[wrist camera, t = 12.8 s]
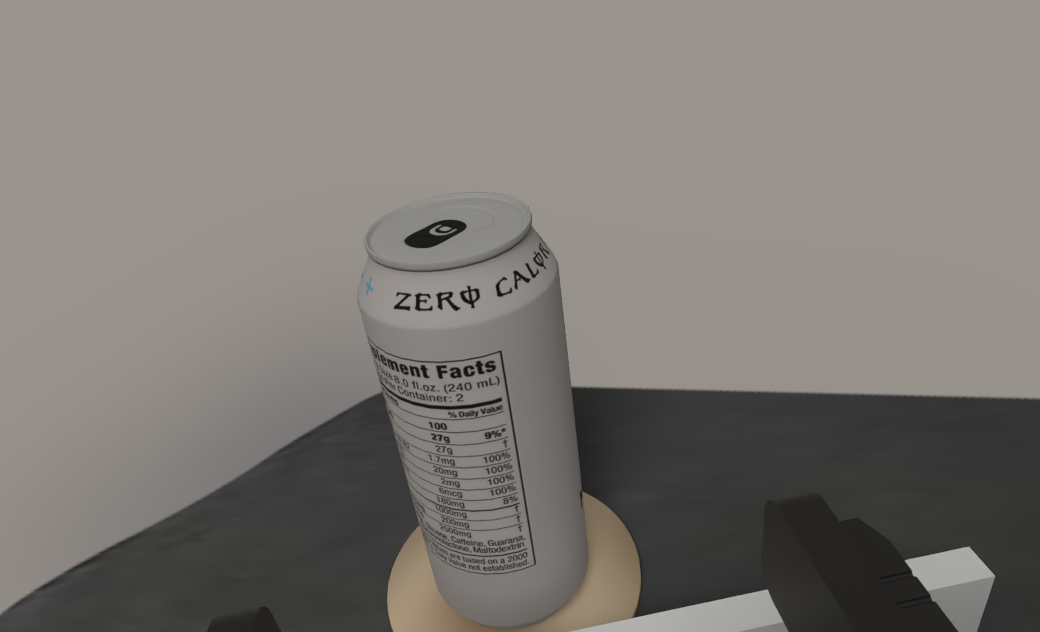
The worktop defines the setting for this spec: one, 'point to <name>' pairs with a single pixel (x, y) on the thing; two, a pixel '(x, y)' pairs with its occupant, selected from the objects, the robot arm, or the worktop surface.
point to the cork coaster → (599, 600)
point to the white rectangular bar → (759, 627)
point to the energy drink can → (480, 401)
